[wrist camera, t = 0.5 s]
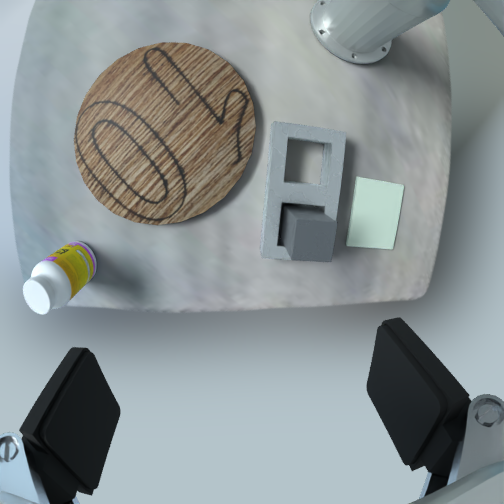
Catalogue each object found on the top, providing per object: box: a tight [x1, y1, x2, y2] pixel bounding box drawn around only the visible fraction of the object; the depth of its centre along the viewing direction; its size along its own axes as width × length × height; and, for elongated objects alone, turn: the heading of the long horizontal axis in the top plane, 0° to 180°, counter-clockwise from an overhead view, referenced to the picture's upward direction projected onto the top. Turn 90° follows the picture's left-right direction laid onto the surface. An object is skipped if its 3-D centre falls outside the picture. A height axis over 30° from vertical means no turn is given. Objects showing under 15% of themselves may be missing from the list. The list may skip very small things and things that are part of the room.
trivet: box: [74, 43, 256, 225], centre depth 33 cm, size 25×25×2 cm
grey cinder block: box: [260, 121, 346, 260], centre depth 36 cm, size 17×9×4 cm, turn 175°
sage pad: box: [346, 177, 404, 249], centre depth 39 cm, size 10×8×1 cm
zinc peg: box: [278, 203, 338, 262], centre depth 34 cm, size 4×4×10 cm
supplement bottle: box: [23, 241, 97, 314], centre depth 33 cm, size 7×7×13 cm
